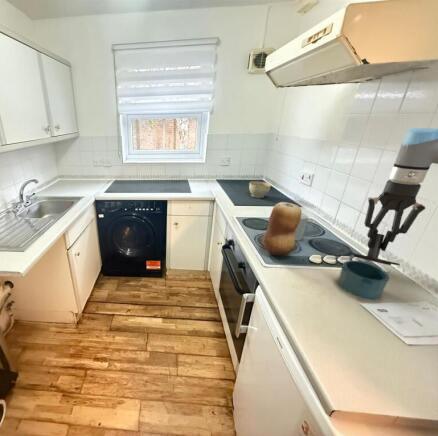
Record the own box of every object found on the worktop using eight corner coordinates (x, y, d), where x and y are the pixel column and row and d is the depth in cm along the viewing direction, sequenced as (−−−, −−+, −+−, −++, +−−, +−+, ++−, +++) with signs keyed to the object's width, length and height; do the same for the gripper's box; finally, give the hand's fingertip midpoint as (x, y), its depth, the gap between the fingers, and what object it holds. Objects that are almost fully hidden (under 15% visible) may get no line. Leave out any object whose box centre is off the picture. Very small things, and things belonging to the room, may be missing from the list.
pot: (375, 282, 94) (384, 264, 90) (384, 310, 80) (394, 290, 77) (336, 271, 100) (342, 254, 97) (338, 295, 86) (345, 276, 83)
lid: (389, 264, 86) (396, 238, 86) (407, 269, 74) (415, 239, 74) (342, 253, 93) (349, 229, 92) (352, 256, 81) (360, 229, 80)
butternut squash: (294, 262, 106) (309, 210, 96) (262, 258, 110) (273, 207, 100) (286, 247, 119) (299, 200, 109) (258, 244, 122) (267, 198, 112)
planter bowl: (270, 200, 187) (273, 186, 183) (248, 198, 190) (251, 185, 186) (266, 194, 201) (268, 181, 197) (246, 193, 205) (248, 180, 200)
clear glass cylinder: (292, 241, 125) (298, 219, 120) (278, 233, 133) (283, 213, 129) (306, 238, 127) (313, 217, 123) (292, 231, 136) (297, 211, 131)
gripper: (372, 180, 75) (347, 245, 84) (447, 188, 66) (410, 259, 75) (368, 176, 80) (346, 237, 89) (437, 182, 72) (404, 249, 81)
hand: (375, 247), depth 82 cm, fingers closed on lid, 3 cm apart
